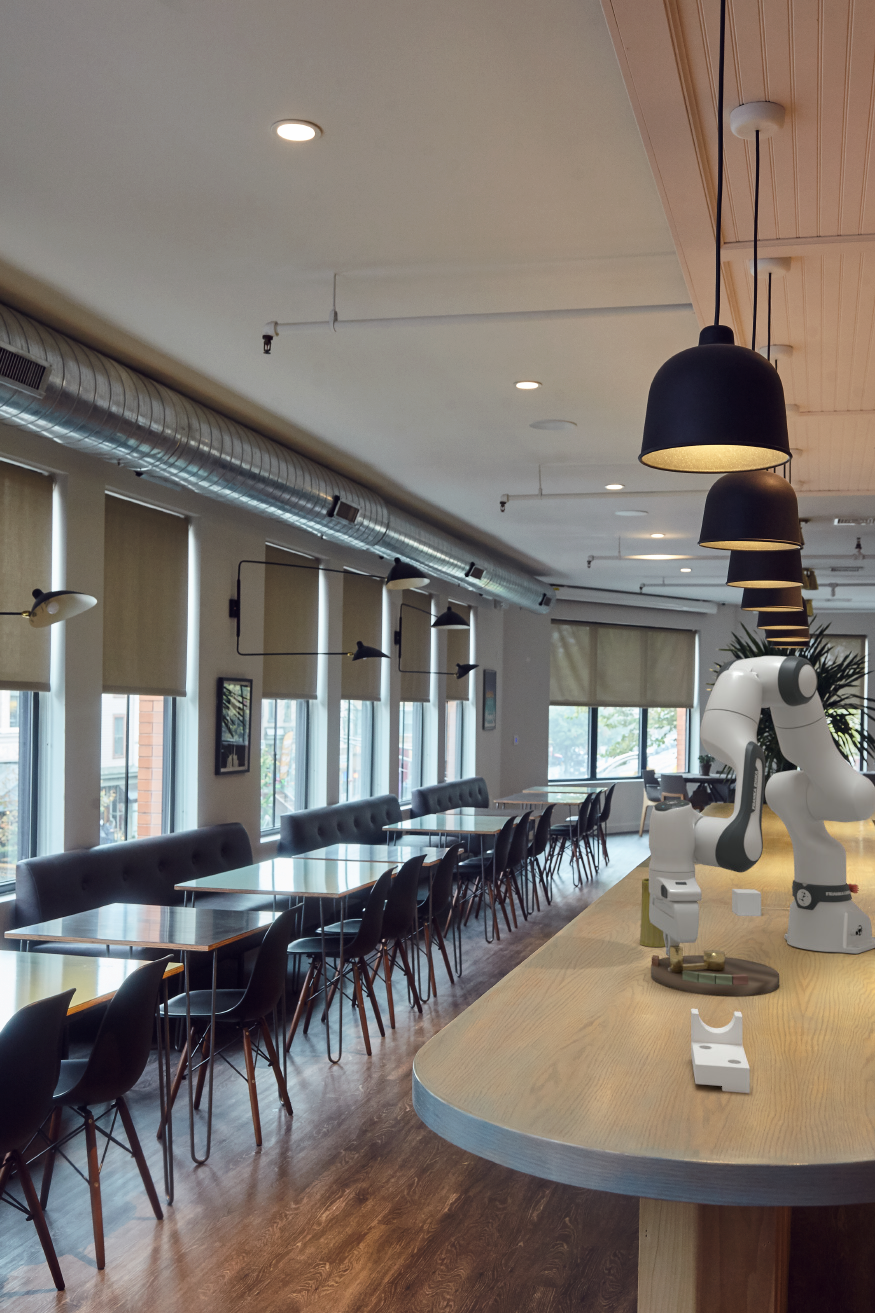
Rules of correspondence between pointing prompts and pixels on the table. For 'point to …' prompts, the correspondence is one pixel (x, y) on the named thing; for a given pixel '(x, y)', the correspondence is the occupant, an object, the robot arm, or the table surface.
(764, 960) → the table surface
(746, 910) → the light grey cube
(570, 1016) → the table surface
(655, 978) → the dial base
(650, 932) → the vase
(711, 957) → the brass dumbbell
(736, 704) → the robot arm
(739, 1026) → the bracket
